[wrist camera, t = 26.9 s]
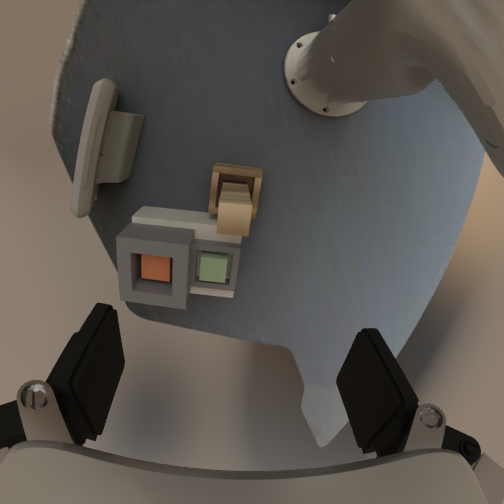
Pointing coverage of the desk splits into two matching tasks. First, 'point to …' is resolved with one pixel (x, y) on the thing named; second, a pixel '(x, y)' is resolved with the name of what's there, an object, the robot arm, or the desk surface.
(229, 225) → the tall wooden block
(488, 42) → the robot arm
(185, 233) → the push button control box
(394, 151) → the desk surface
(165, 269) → the plunger
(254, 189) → the holder
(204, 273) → the on button
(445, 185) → the desk surface
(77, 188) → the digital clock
